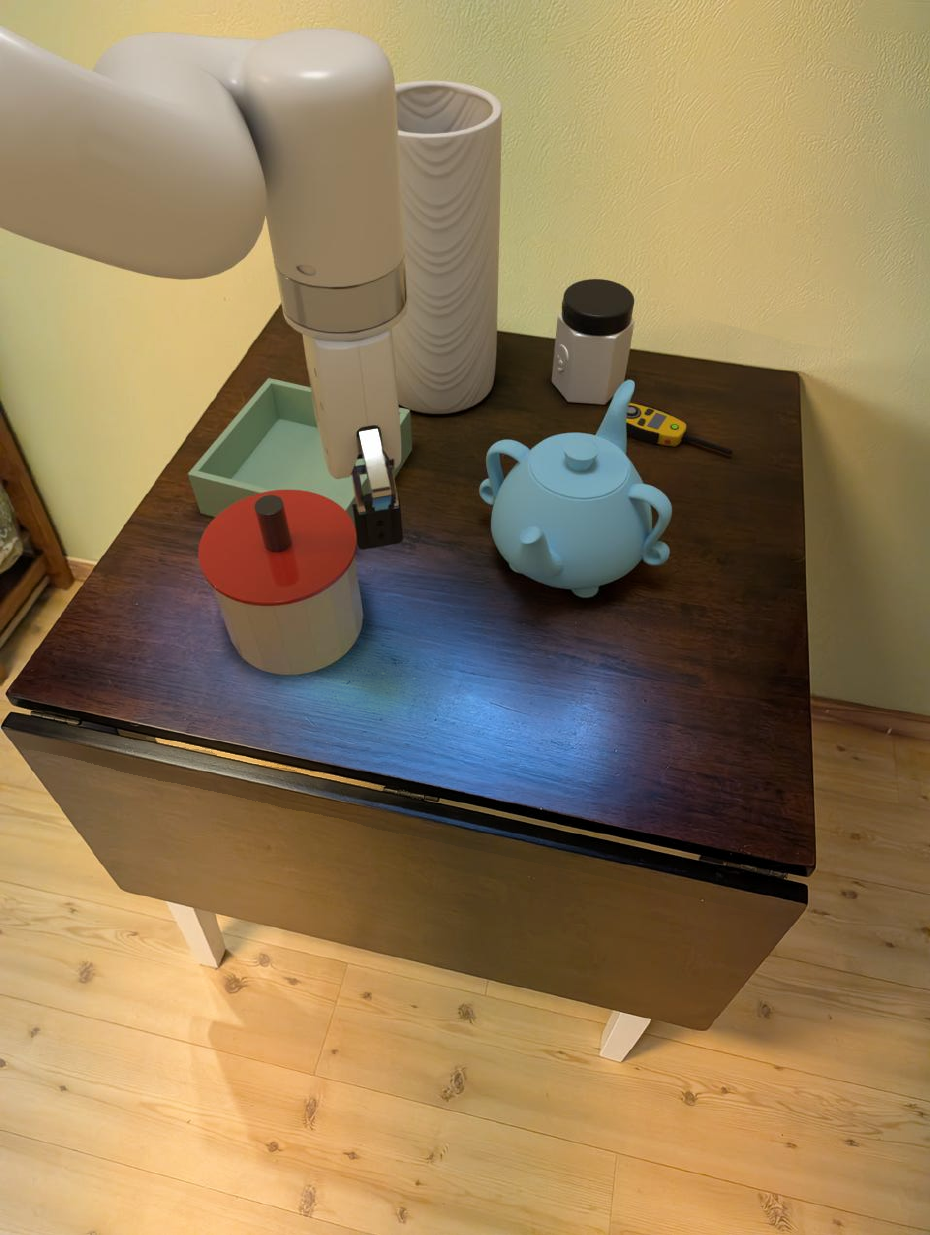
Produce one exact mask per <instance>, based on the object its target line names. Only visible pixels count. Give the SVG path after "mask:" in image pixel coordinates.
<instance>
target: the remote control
mask: <svg viewBox="0 0 930 1235" xmlns="http://www.w3.org/2000/svg"><path fill="white" fill-rule="evenodd" d="M626 436H628V437H631V438H632V439H634V440H635V439H636V440H637V441H642V442H644V443H647V444H651V445H655V446H656V445H662V446H667V447H677V446H678V445H679V444H681V443H682V442H685V441H687V442H692V443H695V444H697V445H699V446H703V447H706V448H709V449H711V450H714V451H717V452H719V453H720V452H721V453H723V454H726V455H733V453H734V451H733V450H732V449H731V448H728V447H724V446H721V445H718V444H716V443H712V442H710V441H706V440H704V439H701V438H698V437H695V436H692V435H690V434H688V432H687V424H686V423H685V422H684V421H682V420H680V419H679V418H677V417H674V416H673V414H671V413H669V412H668V411H664V410H662V409H660V408H658V407H655V406H651V405H647V404H643V403H632V402H630V403H629V406H628V410H627V417H626Z"/></svg>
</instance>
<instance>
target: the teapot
mask: <svg viewBox="0 0 930 1235" xmlns="http://www.w3.org/2000/svg"><path fill="white" fill-rule="evenodd" d="M635 388H636V384H635V381H634V380H632V379H626V380H624V383H622V384H621V386H620V387H619V388H618V389H617V391H616V393H615V395H614V396H613V397H612V398H611V402H610V403H609V407H608V409H607V411H606V413H605V416H604V418H603V420H602V422H601V423H600V426H599V427H598V429H597V431H596V433H595V435H594V434H591V433H586V432H565V433H559V434H555V435H551V436H549V437H547V438H545V439H543V440H542V441H540V442H538V443H537V444H535V445H534V446H533V447H531V449H530V448H529V447H527V446H526V445H525V444H523V443H522V442H520V441H517V440H514V439H502V440H499V441H496V442H495V443H493V444H492V445H491V446H490V448H489V449H488V450H487V453H486V457H485V465H486V471H487V476H488V478H485V479H484V480H483V481H482V482H481V483H480V486H479V489H478V493H479V494H478V495H479V496H480V498H481V499H482V500H483V501H484V502H485V503H486V504H488V505H489V506H492V510H491V516H490V517H491V518H490V531H491V537H492V539H493V542H494V544H495V546H496V548H497V550H498V552H499V554H500V555H501V556H502V557H503V559H504V560H505V561H506V562H507V563H508V565H509V568H510V570H512V571H513V572H515V573H518V574H522V575H524V576H526V577H527V578H529V579H531V580H533V581H535V582H538V583H540V584H543V585H546V586H549V587H553V588H558V589H564V590H571V592H572V593H573V594H574V595H576V596H577V597H580V598H592V597H594V596H595V595H596V594H598V592H599V587H601V586H605V585H607V584H610V583H612V582H615V581H617V580H619V579H621V578H623V577H624V576H626V575H627V574H629V573H630V572H631V571H633V570H634V569H635V567H636V566H638V564H639V563H640V562H641V561H643V562H644V563H646V564H648V565H650V566H661V565H663V564H664V563H666V562H667V561H668V559H669V557H670V555H671V554H670V553H671V550H670V547H669V546H668V544H667V543H665V542H663V541H661V540H659V538H660V537H661V536H662V535H663V533H664V532H665V531H666V529H667V528H668V525H669V524H670V521H671V519H672V516H673V505H672V503H671V501H670V499H669V498H668V496H667V495H666V494H665V493H663V491H661V490H660V489H658V488H657V487H655V486H653V485H650V484H646V483H644V482H643V479H642V477H641V476H640V474H639V472H638V471H637V469H636V467H635V465H634V463H633V462H632V460H630V458H629V457H628V456H627V447H628V446H627V445H628V443H627V442H628V441H627V435H626V417H627V410H628V406H629V403H631V399H632V397H633V395H634V392H635ZM500 454H501V455H502V454H503V455H507V456H508V457H511V458H512V459H514V460H515V461H517V462H516V463H515V465H514V466H513V467H512V469H510V471H508V473H507V475H506V476H505V477H504V473H503V469H502V465H501V460H500V459H501V458H500ZM651 506H652V507H651ZM652 508H654V510H656V512H657V515H658V519H657V521H656V523H655V525H654V526H653V515H652Z"/></svg>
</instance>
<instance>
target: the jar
mask: <svg viewBox="0 0 930 1235" xmlns="http://www.w3.org/2000/svg"><path fill="white" fill-rule="evenodd" d="M634 296H635V295H634V294H633V292H632V290H630V289H629V288H628V287H626V286H625V285H623V284H621V283H619V282H616V281H613V280H609V279H603V278H589V279H588V278H587V279H582V280H580V281H576V282H574V283H572V284H571V285H569V286H568V287H567V288H566V289H565V290H564V292H563V299H562V301H561V312H560V313H558V315H557V320H556V328H555V329H556V330H555V341H554V353H553V362H552V371H551V372H552V373H551V383H552V384H553V386H555V388H556V389H557V391H558V392H559V393H560V395H562V397H563V398H564V399H565V401H566V402H568V403H575V404H589V405H601V406H603V405H604V406H605V405H606V404H608V402H609V401H610V400H612V399H613V397H614V395H615V393H616V391H617V389H618V388H619V387H620V386H621V384H622V383H624V382H625V381H626V375H627V374H626V373H627V367H628V362H629V357H630V351H631V345H632V339H633V334H634V328H635V319H634V318H633V313H634V306H635V297H634Z"/></svg>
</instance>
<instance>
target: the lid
mask: <svg viewBox="0 0 930 1235" xmlns="http://www.w3.org/2000/svg"><path fill="white" fill-rule="evenodd" d="M357 548H358V542H357V535H356V529H355V526H354V523H353V521H352V519H351V517H350V516H349V515H348V513H347V512H346V511H345V510H344V509H343V508H342V507H341V506H340V505H339V504H337V503H336V502H334V501H333V500H331V499H329V498H327V497H325V496H322V495H319V494H316V493H313V492H309V491H302V490H274V491H268V492H263V493H259V494H255V495H252V496H249V497H247V498H244V499H242V500H240V501H238V502H236V503H234V504H232V505H231V506H229V507H228V508H226V509H225V510H223V511H222V512H221V513H220V514H218V515H217V516H216V517H214V518H213V519H212V521H211V522H210V523H209V524H208V525H207V526H206V528H205V530H204V532H203V533H202V535H201V538H200V541H199V544H198V550H197V551H198V552H197V553H198V555H197V557H198V563H199V567H200V569H201V572H202V575H203V577H204V578H205V580H206V581H207V583H209V585H210V586H211V587H212V589H213V588H214V589H215V590H217V591H218V592H219V593H221V594H222V595H224V596H226V597H227V598H230V599H232V600H235V601H237V602H241V603H244V604H249V605H255V606H280V605H287V604H292V603H296V602H300V601H303V600H306V599H308V598H311V597H313V596H315V595H317V594H319V593H321V592H323V591H324V590H326V589H328V588H329V587H330V586H332V585H333V584H334V583H336V582H337V581H338V580H339V579H340V578H341V577H342V576H343V575H344V573H345V572H346V571H347V570H348V568H349V567H350V565H351V563H352V561H353V559H354V556H355V557H356V553H357Z"/></svg>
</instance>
